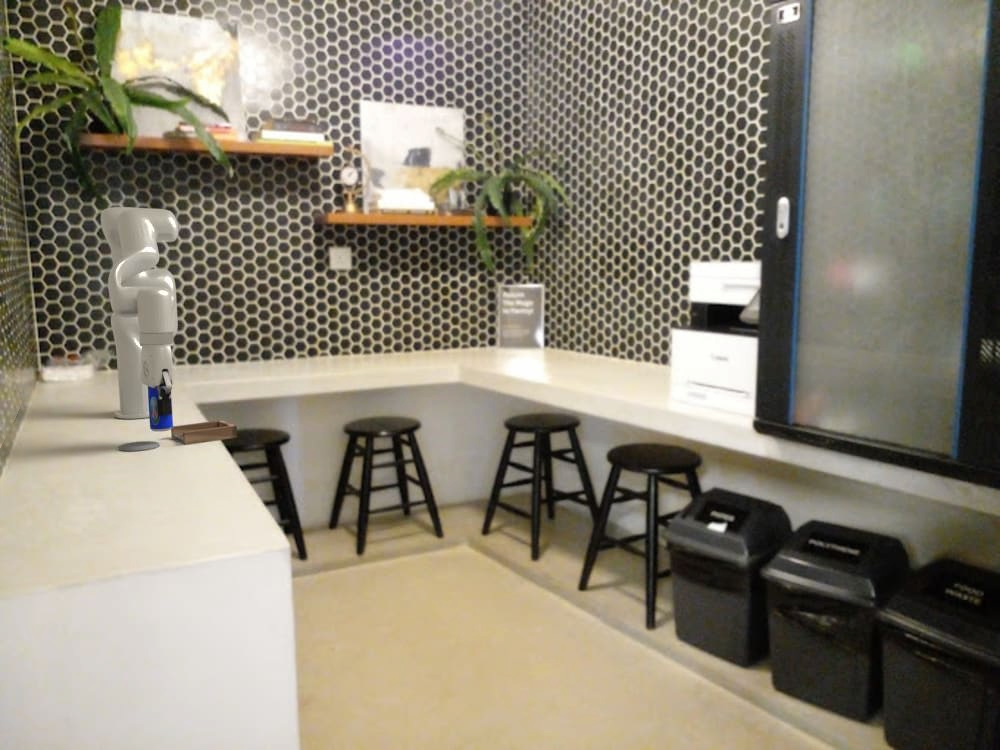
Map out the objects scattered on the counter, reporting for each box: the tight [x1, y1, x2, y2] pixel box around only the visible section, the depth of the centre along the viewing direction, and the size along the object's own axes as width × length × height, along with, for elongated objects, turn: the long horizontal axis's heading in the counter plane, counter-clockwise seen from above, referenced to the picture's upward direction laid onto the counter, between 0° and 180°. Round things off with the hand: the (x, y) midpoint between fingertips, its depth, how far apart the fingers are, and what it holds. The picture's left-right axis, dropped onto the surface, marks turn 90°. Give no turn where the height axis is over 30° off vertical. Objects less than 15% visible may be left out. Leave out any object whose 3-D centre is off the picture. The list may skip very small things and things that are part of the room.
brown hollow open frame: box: [170, 419, 238, 446], centre depth 191 cm, size 10×13×3 cm
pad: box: [117, 440, 160, 453], centre depth 181 cm, size 9×9×1 cm
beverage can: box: [148, 384, 174, 433], centre depth 184 cm, size 5×5×15 cm
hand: (160, 412), depth 184 cm, fingers closed on beverage can, 5 cm apart
